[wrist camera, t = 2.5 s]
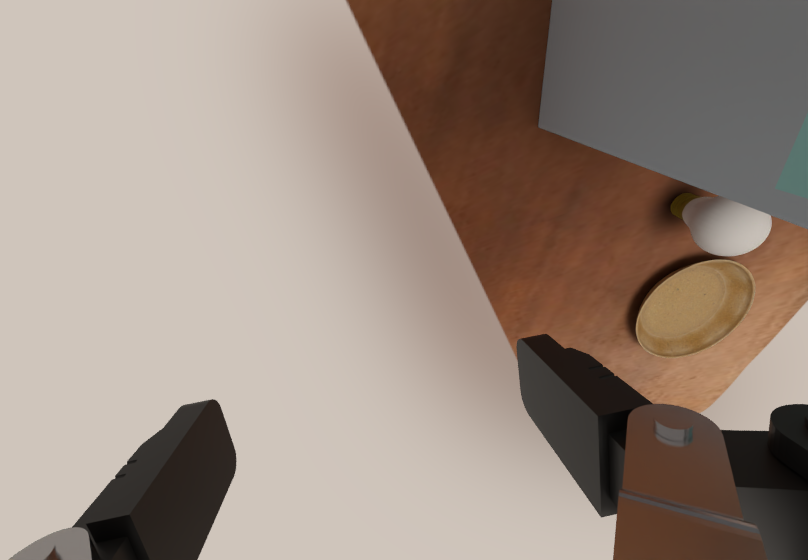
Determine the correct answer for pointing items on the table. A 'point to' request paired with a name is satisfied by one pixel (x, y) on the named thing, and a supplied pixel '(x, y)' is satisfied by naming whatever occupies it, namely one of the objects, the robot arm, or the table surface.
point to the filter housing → (685, 90)
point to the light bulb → (722, 224)
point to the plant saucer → (694, 308)
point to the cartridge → (796, 166)
